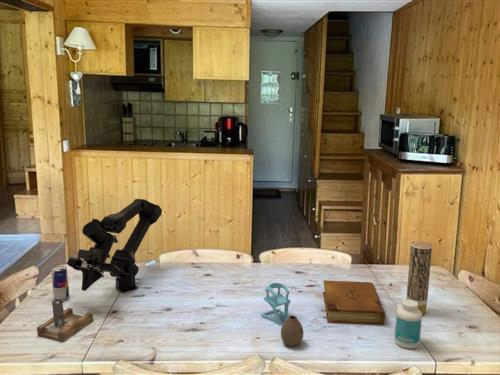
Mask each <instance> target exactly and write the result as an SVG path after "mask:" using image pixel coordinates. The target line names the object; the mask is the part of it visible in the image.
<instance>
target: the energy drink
mask: <svg viewBox="0 0 500 375" xmlns="http://www.w3.org/2000/svg"><path fill="white" fill-rule="evenodd" d="M68 276H69V275H68V268H67V266H65V265H57V266H53V267H52V268H51V282H52V284H51V285H52V293H53V294H52V295H53V301H54V300H58V299H60V300H62V302H65V301H67V300H69V299H70V287H69V277H68Z"/></svg>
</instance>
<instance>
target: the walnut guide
mask: <svg viewBox="0 0 500 375" xmlns="http://www.w3.org/2000/svg"><path fill="white" fill-rule="evenodd" d="M63 313H64V319H66V320H69V321H71V322H73V323H71V324H69V325H68V326H67V327H65V328H64V329H62V330H61V331H59V332H58V335H55V334H51V333H47V332H45V327H46V326H48V325H50V324H51V323H53V322H54V317H51V318H49V319H48V320H47V321H45V322H43V323H42V324H40V325H38V326H37V327H36V332H37V337H41V338H45V339H49V340H53V341H56V342H60V343H64V342H65V341H67V340H69V338H71V337H73V336H74V335H75V334H77V333H78V332H80V331H82V329H84V328H86V327H87V326H89V325H91V323H93V322H94V315H93V314H94V313H93V312H91V311H88V312H86V313H85V314H84V315H79V314H74V310H73V308H71V307H68V308H66V309H65V310H64V309H63Z"/></svg>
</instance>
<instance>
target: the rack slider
mask: <svg viewBox="0 0 500 375" xmlns="http://www.w3.org/2000/svg"><path fill="white" fill-rule="evenodd" d="M63 302H64V301H62V300H60V299H58V300H54V299H53V300H52V302H51V305H52V313H53V315H52V316H53V317H54V322H53V323H51V324H50V325H48V326H46V327H45V332H47V333H51V334H55V335H58V332H59V331H61V330H62V329H64V328H65V327H67V326H68V325H69V324H71V323H73V322H71V321H69V320H66V319H64V313H63V311H64V304H63ZM53 317H52V318H53Z"/></svg>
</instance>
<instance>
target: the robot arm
mask: <svg viewBox="0 0 500 375" xmlns="http://www.w3.org/2000/svg"><path fill="white" fill-rule="evenodd" d="M162 212H163V211H162V208H161V206H160V205H159V204H155V203H153V202H150V201H148V200H147V199H144V198H135V199H134V200H133V202H131V203H130V204H128V205H127V206H125V207H124V208H122V209H121V210H120V211H118V212H117V213H111V214H108V215H106V216H104V217H103V218H102V220H99V219H98V218H92V219H91V221H89V222H87V223H86V224H85V225H83V227H82V234H83V235H84V236H85V237H86V238H88V239H89V240H90V241H91V242H92V243H94V245H93V246H91V247H89V249H88V250H87V249H83V248H81V249H78V252H77V257H69V259H68V260H67V262H66V265H68V266H69V267H70V268H72V269H73V270H76V271H77V272H78V271H79V272H81V273H82V274H81V275H82V281H81V282H82V283H81V291H83V292H86V291H87V290H88V289H89V288H90V287H91V286H93V284H95V283H96V282H98V281H99V280H100V279H101V278H104V277H105V275H104V274H105V273H109V275H110V277H113V278H115V286H114V289H116V290H117V291H119V292H121V293H123V294H124V293H128V292H130V291H133V290H136V289H138V286H137V285H136V276H137V274H138V273H139V269H140V268H139V267H140V266H138V265H137V264H136V253H137V251H138V249H139V247H140V245H141V243H142V242H143V240H144V238H145V236H146V234H147V233H148V230H149V228H150V227H151V226H152V225H154V224H155V223H157V221H158V220H159V218H161V216H162ZM137 215H138V222H137V223H136V224H135V227H134V228H133V231H132V232H131V234H130V236H129V238H128V239H127V241H126V243H125V245H124V247H122V249H115V252H114V253H113V255H112V256H111V255H110V252H111V250H112V247H113V245H114V244H118V238H117V235H115V234H120V233H122V232H123V231H124V230H125V228H126V227H127V223H128V222H129V221H131V220H132V219H133V218H135V217H136V216H137ZM112 233H113V234H112ZM110 258H111V259H110ZM107 259H110V262H109V263H108V262H107Z"/></svg>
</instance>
